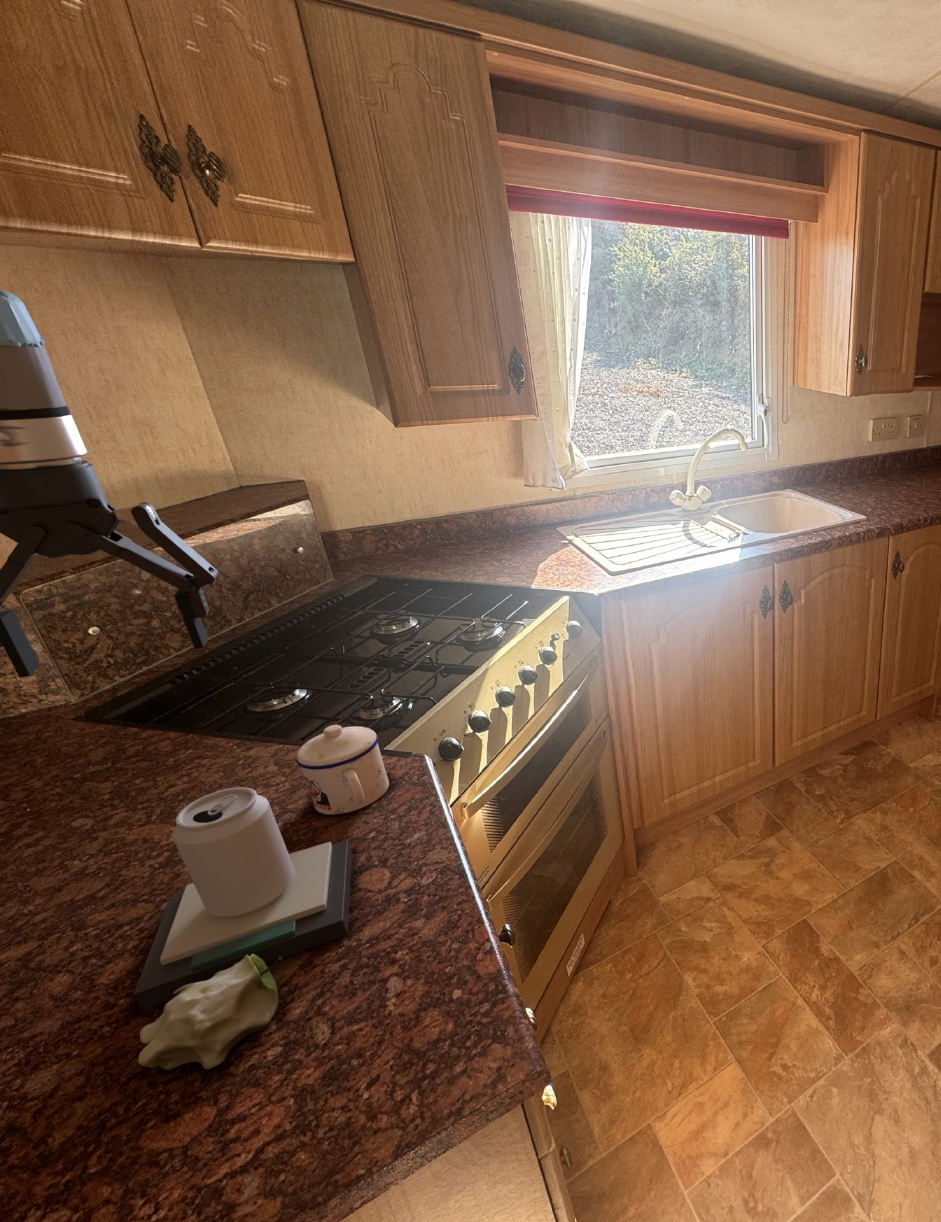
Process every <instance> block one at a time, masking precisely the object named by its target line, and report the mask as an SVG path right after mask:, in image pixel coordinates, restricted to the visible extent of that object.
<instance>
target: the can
mask: <svg viewBox="0 0 941 1222" xmlns="http://www.w3.org/2000/svg"><path fill="white" fill-rule="evenodd" d="M174 821H175V824H176V826H175V827H174V829H173V831H172V833H171V836H172V840H173V842H174V844H175V846H176V848H177V850H178V853H179V855H180V857H181V859H182V861H183V863H184V866H185V867H186V870H187V872H188V874H189V876H190V879H191V880H192V881H191V882H192V883H194V885H195V887H196V889H197V891H198V893H199V896H200V898H201V900H202V902H203V904H204V906H205V908H206V910H207V912H208V913H210V914H212V915H214V916H224V917H225V916H232V917H234V916H240V915H245V914H248V913H251V912H254V911H257V910H259V909H261V908H263V907H265V906H267V905H268V904H270V903H271V902H273V901H274V900H276V899H277V898H278V897H279V896H280V895H281V894H282V893H283V892H284V891H285V889H286V888H287V887H288V886H289V885H290V883H291V882H292V880H293V879H294V875H295V869H294V867H293V864H292V862H291V859H290V856H289V854H290V853H289V850H288V849H287V846H286V844H285V841H284V838H283V836H282V833H281V830H280V828H279V826H278V823H277V820H276V818H275V815H274V813H273V810H272V807H271V805H270V801H268V799H267V797H264V796H262V795H260V794H257V792H256V790H255V789H253V788H252V787H251V788H250V787H242V786H239V787H230V788H225V789H221V790H217V791H214V792H212V793H209V794H206V795H204V796H202V797H200V798H198V799H195V800H194V801H192V802H190V803H189V804H187V805H185V806H184V807H183V809H182V810H181V811H179V813H177V815H176V817H175V820H174Z"/></svg>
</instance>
